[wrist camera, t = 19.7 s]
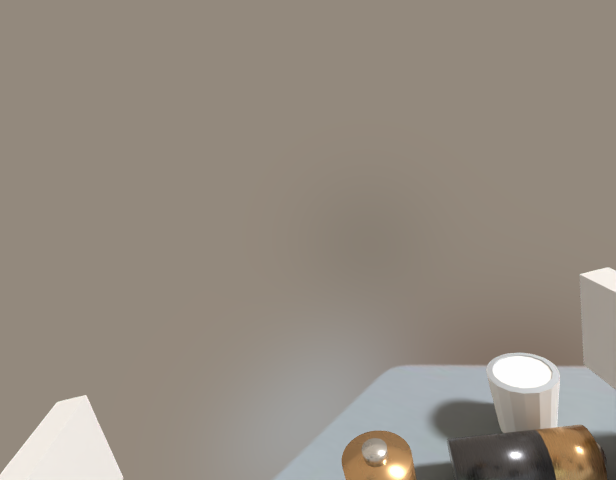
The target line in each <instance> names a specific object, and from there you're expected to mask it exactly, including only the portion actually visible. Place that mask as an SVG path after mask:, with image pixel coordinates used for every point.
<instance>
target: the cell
mask: <svg viewBox="0 0 616 480" xmlns="http://www.w3.org/2000/svg"><path fill="white" fill-rule="evenodd" d="M342 466H343V471H344V474H345V478H346V480H417V479H416V474H415V469H414V464H413V459H412V454H411V450H410V447H409V445H408V444H407V442H406V441H405V440H404V439H403V438H401V437H400V436H398V435H396V434H394V433H391V432H387V431H371V432H367V433H364V434H361V435H359V436H357V437H356V438H354V439H353V440H352V441H351V442H350V443H349V444H348V445H347V446H346V448H345V450H344V452H343V455H342Z"/></svg>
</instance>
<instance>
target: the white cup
mask: <svg viewBox="0 0 616 480" xmlns="http://www.w3.org/2000/svg"><path fill="white" fill-rule="evenodd" d="M486 372H487V377H488V381H489V385H490V389H491V393H492V397H493V402H494V406H495V410H496V414H497V418H498V423H499V426H500V429H501V431H502V432H503V433H508V432H517V431H527V430H536V429H545V428H554V427H557V418H558V400H559V382H560V372H559V371H558V369H557V367H556V366H555V365H554V364H553V363H551V362H550V361H548V360H547V359H545V358H543V357H539V356H537V355H534V354H527V353H509V354H504V355H501V356H498V357H496V358H494V359H493V360H492V361H491V362H489V363H488V366H487V369H486Z"/></svg>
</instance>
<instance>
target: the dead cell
mask: <svg viewBox="0 0 616 480" xmlns="http://www.w3.org/2000/svg"><path fill="white" fill-rule="evenodd" d="M447 443H448V450H449V455H450V460H451V465H452V469H453V474H454V478H455V480H607V472H606V467H605V465H606V457H605V454H604V452H603V450H602V448H601V446H600V445H599V444H598V443H596V441H595V440H594V438H593V436H592V435H591V433H590V432H589V431H588V429H587V428H586V427H584V426H583V425H573V426H564V427H554V428H545V429H536V430H527V431H517V432H508V433H499V434H489V435H480V436H471V437H462V438H452V439H447Z"/></svg>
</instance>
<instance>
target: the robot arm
mask: <svg viewBox="0 0 616 480" xmlns="http://www.w3.org/2000/svg"><path fill="white" fill-rule="evenodd" d="M580 294H581V315H582V335H583V355H584V356H583V357H584V365H585V366H586V367H587V368H589V369H590V370H591V371H593V372H594V373H595V374H596V375H598V376H599V377H600V378H601V379H603V380H604V381H605V382H607V383H608V384H609V385H610V386H612V387H613V388H614V389H616V271H615V270H613V269H611V268H604V269H599V270H595V271H591V272H587V273H583V274H580ZM0 480H123V477H122V474H121V472H120V470H119V467H118V465H117V463H116V461H115V458H114V456H113V454H112V452H111V450H110V447H109V445H108V443H107V441H106V438H105V436H104V434H103V432H102V429H101V428H100V425H99V423H98V421H97V419H96V416H95V414H94V412H93V409H92V407H91V405H90V403H89V400H88V398H87V396H86V395H84V396H80V397H76V398H72V399H68V400H64V401H60V402H57V403H56V404H55V405H54V407H53V408H52V409H51V410H50V412H49V413H48V414H47V415H46V417H45V418H44V419H43V421H42V422H41V423H40V424H39V426H38V427H37V428H36V430H35V431H34V432H33V433H32V435H31V436H30V437H29V438H28V440H27V441H26V442H25V444H24V445H23V446H22V447H21V449H20V450H19V451H18V453H17V454H16V455H15V456H14V458H13V459H12V460H11V461H10V463H9V464H8V465H7V466H6V468H5V469H4V470H3V472H2V473H1V474H0Z"/></svg>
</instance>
